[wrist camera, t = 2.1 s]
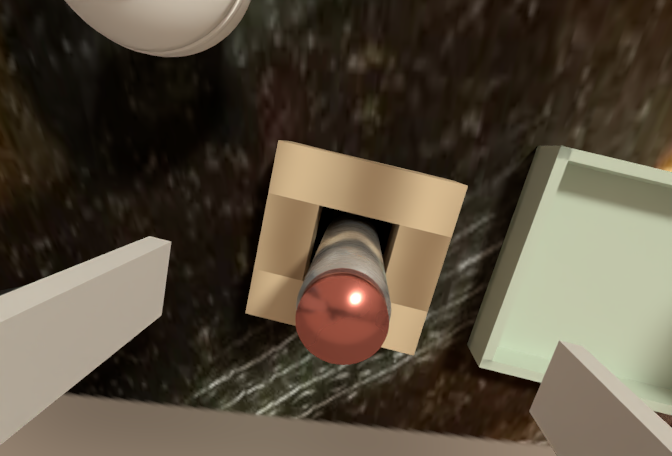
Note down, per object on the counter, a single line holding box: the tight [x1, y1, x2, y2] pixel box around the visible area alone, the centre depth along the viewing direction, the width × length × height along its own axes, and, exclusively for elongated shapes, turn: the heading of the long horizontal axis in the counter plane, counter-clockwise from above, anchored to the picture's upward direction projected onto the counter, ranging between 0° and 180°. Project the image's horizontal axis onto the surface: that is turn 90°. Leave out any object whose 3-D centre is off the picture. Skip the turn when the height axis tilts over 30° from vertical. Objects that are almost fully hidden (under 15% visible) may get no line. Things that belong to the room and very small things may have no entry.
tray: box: [467, 146, 672, 415], centre depth 21 cm, size 14×13×2 cm
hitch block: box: [245, 140, 468, 355], centre depth 21 cm, size 10×10×3 cm
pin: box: [295, 213, 391, 365], centre depth 17 cm, size 3×3×11 cm
